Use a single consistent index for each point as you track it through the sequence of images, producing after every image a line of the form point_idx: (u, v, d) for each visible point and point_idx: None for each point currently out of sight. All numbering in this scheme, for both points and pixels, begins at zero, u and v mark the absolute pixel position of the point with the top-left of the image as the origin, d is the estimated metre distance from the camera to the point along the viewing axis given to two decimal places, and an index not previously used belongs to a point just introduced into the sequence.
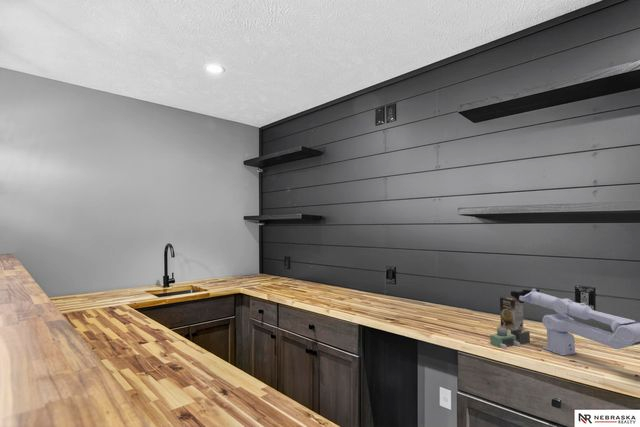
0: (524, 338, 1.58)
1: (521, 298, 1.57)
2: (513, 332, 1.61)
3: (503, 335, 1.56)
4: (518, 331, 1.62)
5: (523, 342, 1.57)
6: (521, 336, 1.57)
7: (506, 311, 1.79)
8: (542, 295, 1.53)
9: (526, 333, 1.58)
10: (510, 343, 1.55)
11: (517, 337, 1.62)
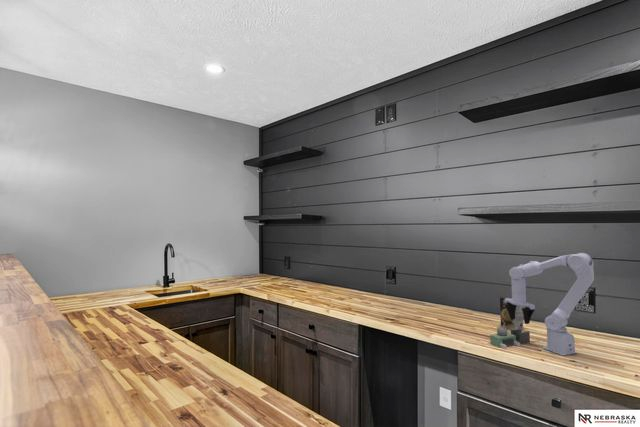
0: (524, 338, 1.58)
1: (533, 306, 1.54)
2: (513, 332, 1.61)
3: (503, 335, 1.56)
4: (518, 331, 1.62)
5: (523, 342, 1.57)
6: (521, 336, 1.57)
7: (506, 311, 1.79)
8: (512, 291, 1.62)
9: (526, 333, 1.58)
10: (510, 343, 1.55)
11: (517, 337, 1.62)
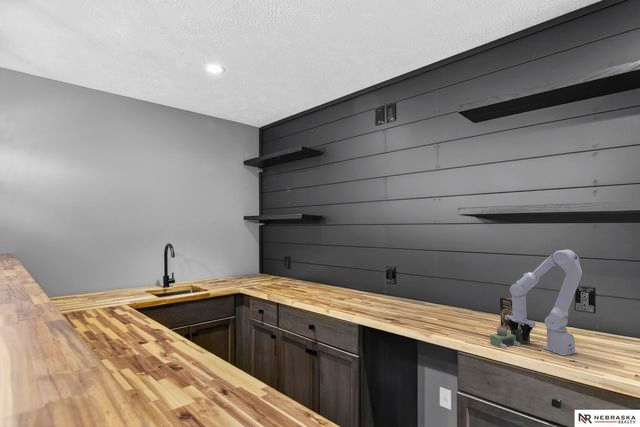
0: None
1: (533, 324, 1.53)
2: (513, 332, 1.61)
3: (503, 335, 1.56)
4: (518, 331, 1.62)
5: (523, 342, 1.57)
6: (521, 336, 1.57)
7: (506, 311, 1.79)
8: (512, 307, 1.61)
9: None
10: (510, 343, 1.55)
11: (517, 337, 1.62)
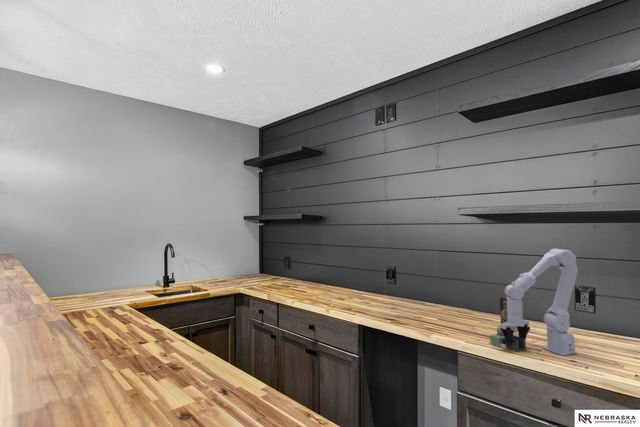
0: None
1: None
2: None
3: (503, 335, 1.56)
4: None
5: None
6: None
7: (506, 311, 1.79)
8: (510, 312, 1.50)
9: None
10: None
11: None
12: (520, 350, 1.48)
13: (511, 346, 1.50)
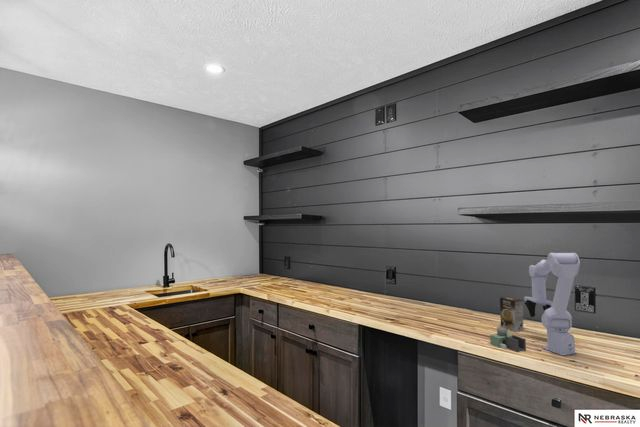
0: None
1: None
2: None
3: (503, 335, 1.56)
4: None
5: None
6: None
7: (506, 311, 1.79)
8: None
9: None
10: None
11: None
12: (520, 350, 1.48)
13: (511, 346, 1.50)
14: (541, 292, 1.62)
